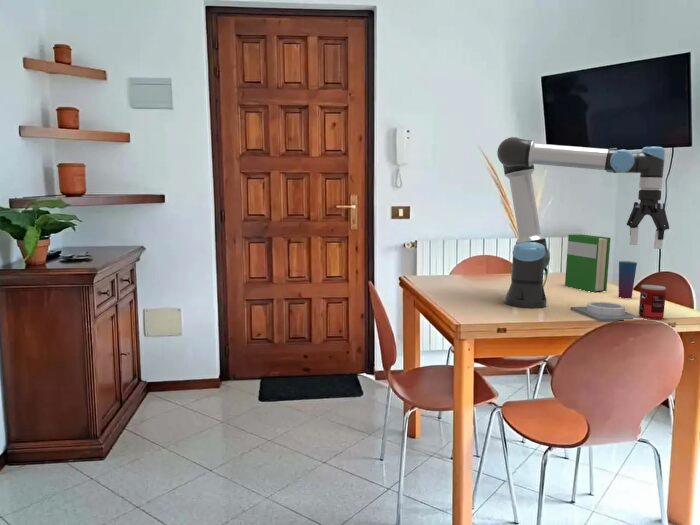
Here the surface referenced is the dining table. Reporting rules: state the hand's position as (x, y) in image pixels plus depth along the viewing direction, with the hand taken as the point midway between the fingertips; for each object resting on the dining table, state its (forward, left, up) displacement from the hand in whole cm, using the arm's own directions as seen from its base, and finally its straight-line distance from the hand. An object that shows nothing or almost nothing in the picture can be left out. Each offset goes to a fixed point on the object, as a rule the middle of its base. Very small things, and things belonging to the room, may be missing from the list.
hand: (645, 246), depth 224 cm
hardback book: (+3, +45, -24) cm, 51 cm away
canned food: (-5, -13, -24) cm, 28 cm away
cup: (+9, +24, -24) cm, 35 cm away
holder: (-20, -9, -24) cm, 32 cm away
